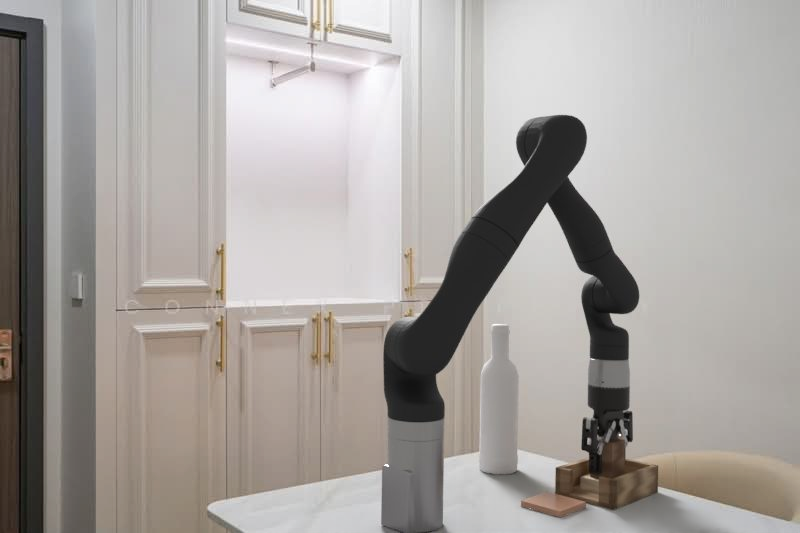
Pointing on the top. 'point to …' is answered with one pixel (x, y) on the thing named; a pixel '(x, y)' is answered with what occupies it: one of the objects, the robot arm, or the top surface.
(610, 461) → the walnut block
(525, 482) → the top surface
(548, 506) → the terracotta tile
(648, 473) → the oak box
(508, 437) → the bottle
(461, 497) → the top surface
